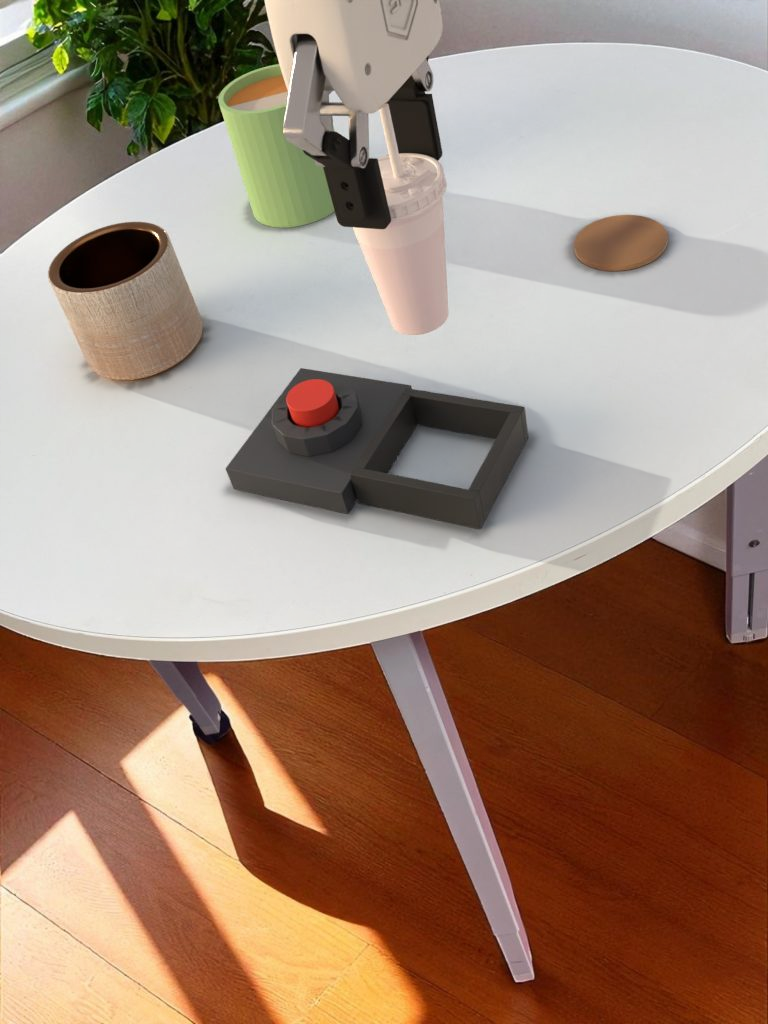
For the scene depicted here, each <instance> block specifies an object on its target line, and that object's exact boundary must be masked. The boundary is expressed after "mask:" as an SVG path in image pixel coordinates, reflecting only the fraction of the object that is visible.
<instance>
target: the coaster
mask: <svg viewBox="0 0 768 1024" xmlns="http://www.w3.org/2000/svg"><path fill="white" fill-rule="evenodd" d="M668 242H669V236H668V232H667V230H666V228H665V227H664V226H663V224H661V223H660V222H659V221H657V220H655V219H653V218H650V217H648V216H643V215H639V214H637V215H636V214H618V215H617V214H616V215H612V216H607V217H603V218H600V219H597V220H594V221H593V222H591V223H589V224H587V225H586V226H584V227H583V228H581V230H580V231H578V233H577V234H576V236H575V238H574V241H573V251H574V255H575V257H576V258H577V260H579V261H580V262H581V263H582V264H583V265H585V266H588V267H589V268H593V269H596V270H600V271H607V272H608V271H609V272H620V271H629V270H633V269H638V268H641V267H644V266H646V265H648V264H650V263H652V262H654V261H655V260H657V259H658V258H659V257H660V256H662V255H663V253H664V252H665V251H666V249H667V247H668Z"/></svg>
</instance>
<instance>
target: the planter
mask: <svg viewBox="0 0 768 1024" xmlns="http://www.w3.org/2000/svg"><path fill="white" fill-rule="evenodd" d="M176 253H177V252H176V251H175V248H174V246H173V243H172V241H171V238H170V235H169V233H168V232H167V231H166V230H165V229H164V228H163V227H161V226H160V225H158V224H155V223H152V222H147V221H126V222H118V223H113V224H109V225H106V226H102V227H100V228H97V229H94V230H93V231H90V232H87V233H85V234H83V235H82V236H80V237H78V238H76V239H74V240H73V241H71V242H70V243H68V244H67V245H65V247H63V248H62V249H61V250H59V252H58V253H57V254H56V256H55V257H54V258H53V259H52V261H51V263H50V264H49V267H48V270H47V279H48V282H49V284H50V287H51V288H52V290H53V293H54V294H55V297H56V299H57V301H58V303H59V305H60V307H61V309H62V311H63V314H64V316H65V318H66V320H67V322H68V324H69V326H70V328H71V331H72V333H73V335H74V337H75V340H76V341H77V344H78V346H79V348H80V350H81V352H82V355H83V357H84V359H85V361H86V363H87V364H88V366H89V367H90V368H91V370H93V372H95V373H96V374H97V375H99V376H101V377H104V378H106V379H111V380H118V381H133V380H139V379H145V378H149V377H153V376H155V375H158V374H161V373H163V372H166V371H168V370H170V369H171V368H173V367H175V366H176V365H177V364H179V363H181V362H182V361H183V360H184V359H185V358H187V356H188V355H190V353H191V352H192V351H193V350H194V349H195V347H197V345H198V343H199V342H200V340H201V338H202V335H203V329H204V325H203V320H202V316H201V314H200V311H199V309H198V306H197V304H196V301H195V299H194V296H193V293H192V291H191V288H190V287H189V283H188V281H187V279H186V276H185V274H184V271H183V269H182V266H181V264H180V261H179V259H178V256H177V254H176Z"/></svg>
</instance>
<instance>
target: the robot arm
mask: <svg viewBox="0 0 768 1024" xmlns="http://www.w3.org/2000/svg"><path fill="white" fill-rule="evenodd" d="M263 1H264V6H265V10H266V16H267V20H268V25H269V27H270V33H271V38H272V41H273V46H274V49H275V54H276V57H277V60H278V64H279V65H280V68H281V72H282V75H283V78H284V81H285V84H286V87H287V90H288V92H289V95H288V101H287V107H286V113H285V119H284V125H283V134H284V137H285V139H286V140H287V141H289V142H290V143H292V144H293V145H295V146H296V147H298V148H299V149H301V150H303V152H304V153H305V154H306V155H307V156H309V157H311V158H312V159H314V162H315V164H316V165H317V166H319V167H323V169H324V173H325V177H326V180H327V184H328V188H329V192H330V196H331V199H332V203H333V207H334V215H335V218H336V221H337V224H339V225H340V226H341V227H343V228H353V227H355V228H370V229H386V228H387V226H388V225H389V224H390V222H391V216H390V212H389V207H388V203H387V198H386V194H385V189H384V185H383V181H382V176H381V172H380V167H379V163H378V158H379V157H376V158H375V157H373V158H372V157H370V128H369V127H370V124H369V121H370V120H369V114H374V113H377V112H378V111H379V109H381V108H382V107H383V106H384V105H385V104H388V105H389V109H390V114H391V119H392V123H393V128H394V133H395V138H396V142H397V147H398V152H399V154H400V153H416V154H423V155H427V156H430V157H432V158H434V159H436V160H437V161H440V159H441V158H442V156H443V148H442V142H441V137H440V131H439V126H438V120H437V115H436V109H435V103H434V98H433V93H428V92H430V91H432V89H433V86H434V73H433V70H432V68H431V66H430V64H429V59H430V54H432V52H433V50H434V49H435V48H436V47H437V45H438V44H439V42H440V40H441V37H442V35H443V30H444V25H443V22H444V21H443V16H442V10H441V9H442V8H441V4H440V0H263ZM333 92H335V94H336V95H337V97H338V98H339V100H340V102H339V101H336V102H335V101H332V102H330V95H331V93H333ZM426 92H427V93H426ZM333 117H348V138H347V137H346V136H344V135H342V134H340V133H339V132H337V131H335V130H334V131H332V118H333Z"/></svg>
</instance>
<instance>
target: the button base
mask: <svg viewBox="0 0 768 1024" xmlns="http://www.w3.org/2000/svg"><path fill="white" fill-rule="evenodd" d="M312 379H321V380H325V381H327V382H329V383H330V384H331V385H332V386H333V388H334V392H335V395H336V398H337V402H338V405H339V411H338V414H337V415H336V417H335V418H333V419H332V420H330V421H328V422H327V423H325V424H323V425H320V426H315V427H310V428H306V427H300V426H297V425H296V424H295V423H294V422H293V420H292V417H291V414H290V411H289V408H288V405H287V401H286V398H287V395H288V393H289V391H290V390H291V389H292V388H293V387H294V386H296V385H297V384H299V383H301V382H304V381H307V380H312ZM405 388H409V389H413V387H412V385H410V384H405V383H400V382H399V383H398V382H393V381H387V380H386V381H385V380H381V379H373V378H366V377H361V376H360V377H359V376H355V375H348V374H341V373H335V372H328V371H323V370H315V369H311V368H303V367H300V368H299V370H298V371H297V372H296V374H295V375H294V376H293V377H292V379H291V380H290V382H289V383H288V384H287V386H286V387H285V389H284V390H283V391H282V392H281V394H280V395H279V397H278V398H277V399H276V400H275V402H274V403H273V404H272V405H271V407H270V409H269V410H268V411H267V412H266V413H265V414H264V416H263V417H262V419H261V420H260V422H259V423H258V424H257V425H256V427H255V429H253V431H252V432H251V434H250V435H249V436H248V438H247V439H246V440H245V442H244V443H243V445H242V446H241V447H240V448H239V449H238V451H237V453H236V454H235V455H234V456H233V458H232V459H231V460H230V462H228V464H227V465H226V467H225V471H226V473H227V474H226V475H227V476H228V478H229V481H230V484H231V487H232V489H233V490H236V491H241V492H245V493H250V494H255V495H260V496H264V497H268V498H273V499H277V500H282V501H287V502H290V503H291V502H292V503H295V504H301V505H305V506H309V507H314V508H317V509H318V508H319V509H323V510H327V511H332V512H336V513H340V514H345V515H348V514H349V513H350V512H351V511H352V509H353V507H354V506H355V504H356V503H357V502H358V500H357V497H356V493H355V490H354V487H353V483H352V480H351V477H350V473H351V471H352V470H353V468H354V467H355V465H356V464H357V462H358V461H359V459H360V458H361V456H362V454H363V453H364V451H365V450H366V448H367V447H368V445H369V444H370V442H371V441H372V439H373V438H374V436H375V434H376V433H377V431H378V430H379V428H380V427H381V425H382V424H383V422H384V421H385V419H386V417H387V416H388V414H389V413H390V411H391V410H392V408H393V407H394V405H395V404H396V402H397V401H398V399H399V397H400V396H401V395H402V393H403V391H404V390H405Z"/></svg>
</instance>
